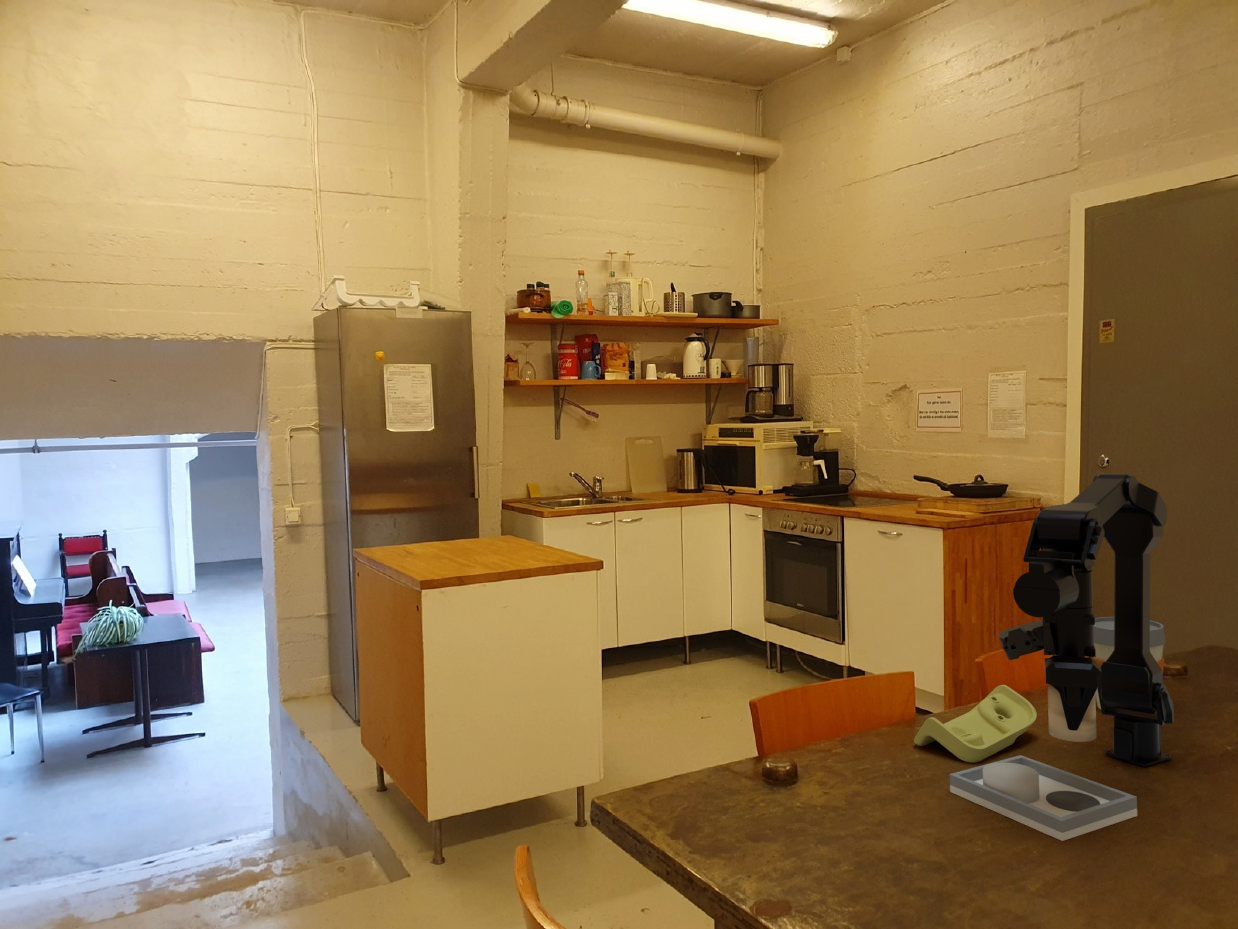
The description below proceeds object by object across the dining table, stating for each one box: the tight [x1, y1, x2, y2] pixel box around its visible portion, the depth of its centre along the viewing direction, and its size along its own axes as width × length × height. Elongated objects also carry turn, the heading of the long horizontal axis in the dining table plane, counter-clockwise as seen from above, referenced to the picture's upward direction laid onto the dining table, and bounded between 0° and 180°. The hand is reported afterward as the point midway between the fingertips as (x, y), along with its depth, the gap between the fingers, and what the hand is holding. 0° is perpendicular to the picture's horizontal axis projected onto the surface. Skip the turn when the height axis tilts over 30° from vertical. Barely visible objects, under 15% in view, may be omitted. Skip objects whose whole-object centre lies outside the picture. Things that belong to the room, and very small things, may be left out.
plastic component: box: [913, 684, 1038, 764], centre depth 147 cm, size 20×7×10 cm
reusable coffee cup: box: [1086, 616, 1167, 710], centre depth 160 cm, size 13×13×15 cm
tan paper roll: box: [1047, 685, 1097, 743], centre depth 120 cm, size 6×6×6 cm
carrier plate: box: [949, 754, 1138, 842], centre depth 122 cm, size 14×18×4 cm
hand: (1071, 723), depth 120 cm, fingers closed on tan paper roll, 6 cm apart
